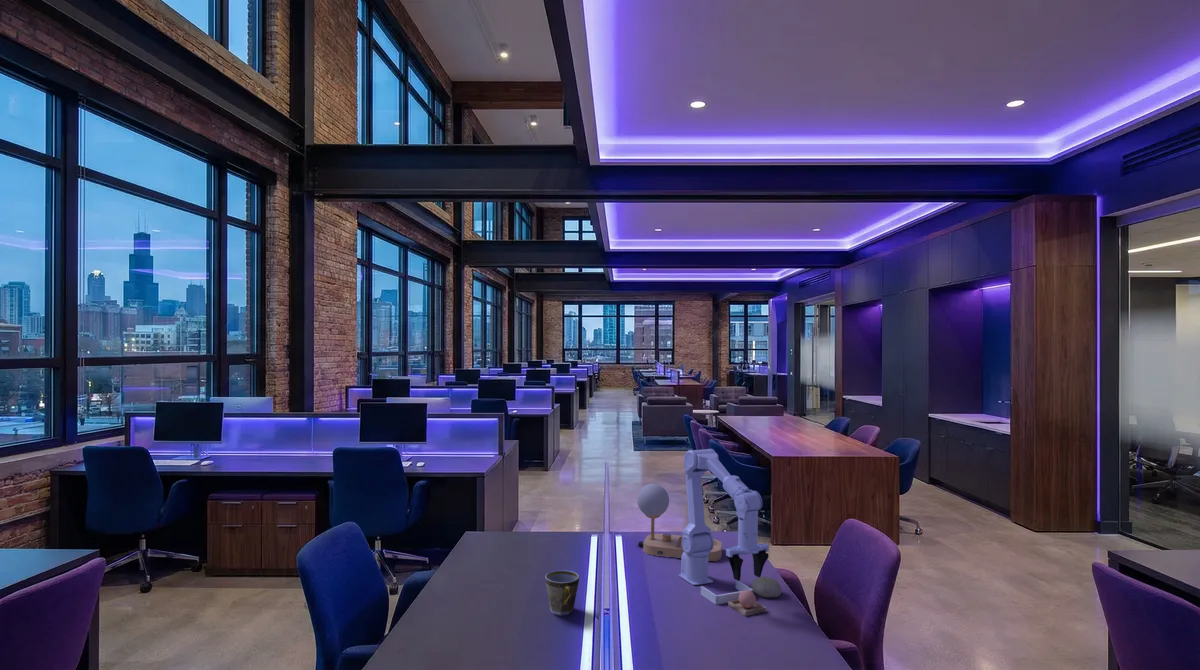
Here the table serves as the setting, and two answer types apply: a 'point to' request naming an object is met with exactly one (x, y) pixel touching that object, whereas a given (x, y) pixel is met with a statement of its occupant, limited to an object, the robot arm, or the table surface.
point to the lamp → (653, 506)
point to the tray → (746, 611)
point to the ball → (747, 599)
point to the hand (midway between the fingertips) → (747, 577)
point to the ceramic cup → (562, 591)
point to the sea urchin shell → (766, 587)
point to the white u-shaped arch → (725, 597)
